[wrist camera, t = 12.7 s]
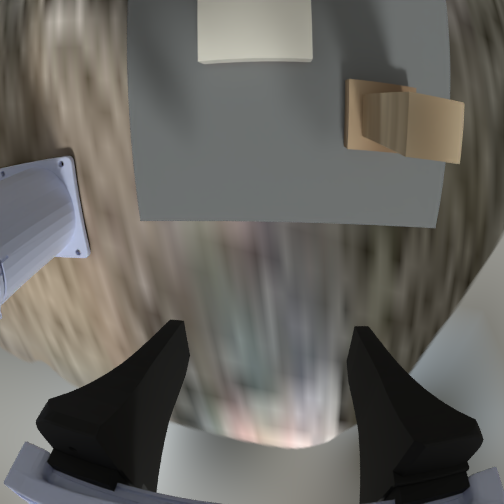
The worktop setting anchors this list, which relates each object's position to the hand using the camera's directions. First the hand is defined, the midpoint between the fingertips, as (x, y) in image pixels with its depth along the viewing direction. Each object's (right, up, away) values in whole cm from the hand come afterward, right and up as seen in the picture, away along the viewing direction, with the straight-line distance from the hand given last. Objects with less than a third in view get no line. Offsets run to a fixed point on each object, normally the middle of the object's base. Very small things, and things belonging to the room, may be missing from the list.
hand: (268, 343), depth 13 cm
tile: (0, +14, +2) cm, 14 cm away
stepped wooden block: (+7, +12, +4) cm, 14 cm away
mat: (+2, +14, +3) cm, 15 cm away
